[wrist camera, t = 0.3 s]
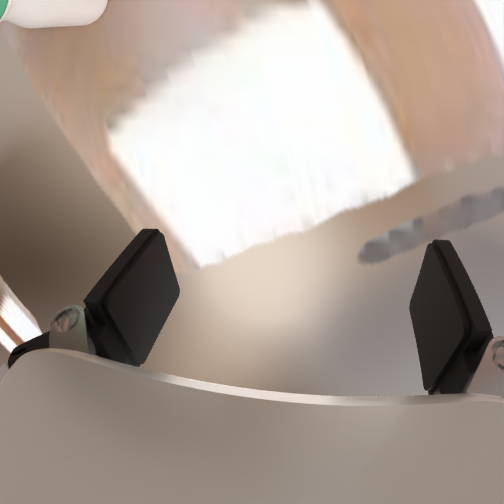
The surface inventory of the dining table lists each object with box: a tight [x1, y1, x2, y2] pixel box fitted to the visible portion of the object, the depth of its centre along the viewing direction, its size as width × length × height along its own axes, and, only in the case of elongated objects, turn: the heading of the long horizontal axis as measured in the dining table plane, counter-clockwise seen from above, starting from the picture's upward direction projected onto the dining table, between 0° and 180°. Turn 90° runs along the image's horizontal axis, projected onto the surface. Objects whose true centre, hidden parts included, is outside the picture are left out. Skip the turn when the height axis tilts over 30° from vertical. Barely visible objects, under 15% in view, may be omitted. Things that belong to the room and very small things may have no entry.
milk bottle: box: [0, 0, 108, 28], centre depth 20 cm, size 8×8×20 cm
